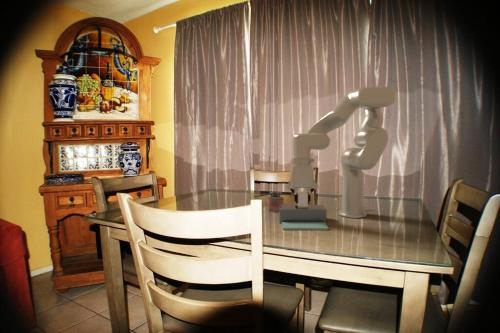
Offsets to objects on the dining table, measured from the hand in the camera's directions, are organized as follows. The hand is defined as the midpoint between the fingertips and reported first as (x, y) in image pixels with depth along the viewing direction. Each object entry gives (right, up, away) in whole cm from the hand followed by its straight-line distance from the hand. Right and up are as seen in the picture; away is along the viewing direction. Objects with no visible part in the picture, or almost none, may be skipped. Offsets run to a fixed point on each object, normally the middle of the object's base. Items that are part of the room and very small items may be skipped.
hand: (302, 202), depth 126 cm
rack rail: (0, -8, +1) cm, 8 cm away
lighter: (-10, -7, +17) cm, 21 cm away
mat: (-1, -9, -9) cm, 13 cm away
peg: (0, -7, +1) cm, 7 cm away
